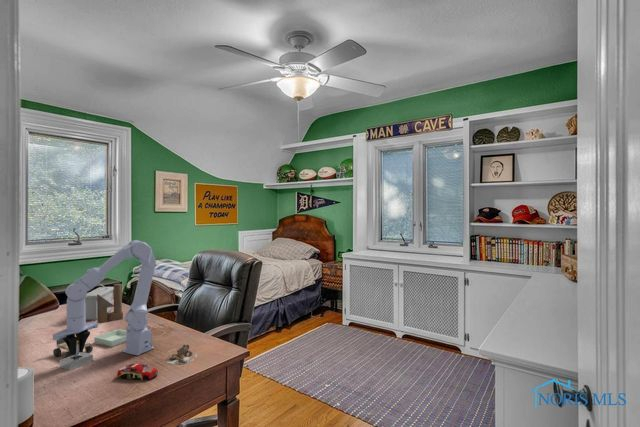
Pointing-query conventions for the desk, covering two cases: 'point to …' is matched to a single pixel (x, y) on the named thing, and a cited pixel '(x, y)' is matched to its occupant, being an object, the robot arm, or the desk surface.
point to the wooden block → (104, 304)
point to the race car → (137, 372)
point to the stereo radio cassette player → (92, 301)
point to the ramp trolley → (63, 345)
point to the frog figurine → (181, 356)
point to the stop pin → (77, 350)
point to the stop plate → (76, 361)
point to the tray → (111, 338)
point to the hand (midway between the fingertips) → (76, 353)
